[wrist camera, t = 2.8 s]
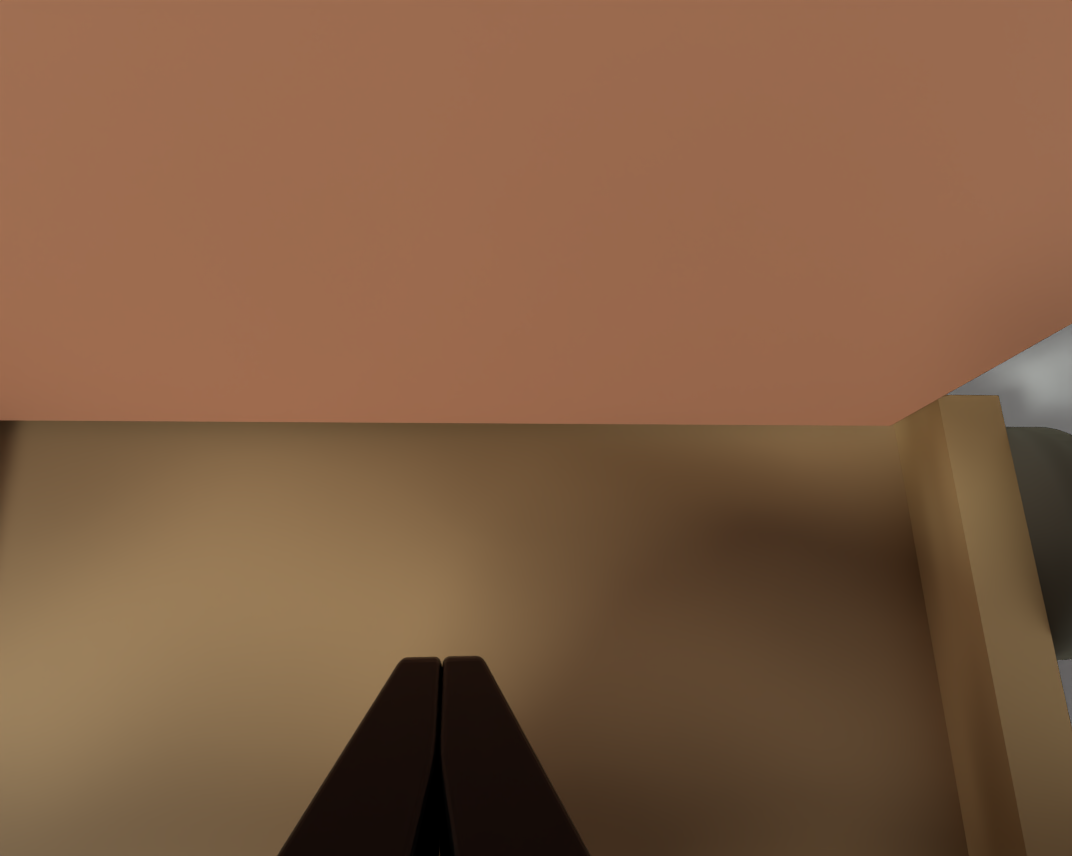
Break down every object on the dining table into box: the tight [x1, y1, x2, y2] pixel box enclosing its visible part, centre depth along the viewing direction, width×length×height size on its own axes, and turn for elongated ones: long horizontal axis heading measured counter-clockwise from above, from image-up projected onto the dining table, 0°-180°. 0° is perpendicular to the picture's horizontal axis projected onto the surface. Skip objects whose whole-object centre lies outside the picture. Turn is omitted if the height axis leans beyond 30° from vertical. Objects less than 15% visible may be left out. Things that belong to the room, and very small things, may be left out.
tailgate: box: [0, 0, 1072, 426], centre depth 9 cm, size 2×17×11 cm, turn 91°
